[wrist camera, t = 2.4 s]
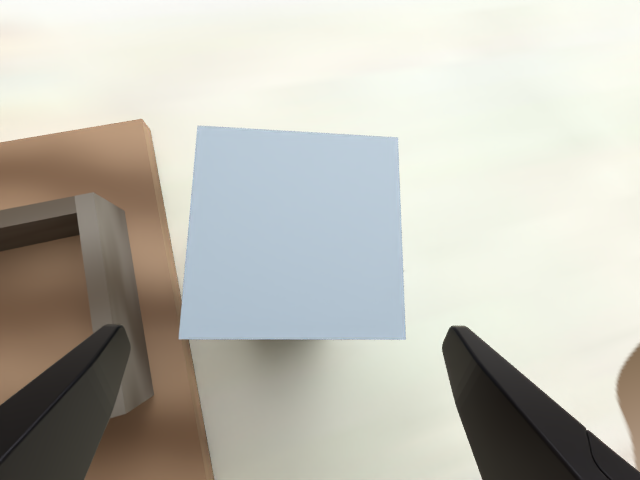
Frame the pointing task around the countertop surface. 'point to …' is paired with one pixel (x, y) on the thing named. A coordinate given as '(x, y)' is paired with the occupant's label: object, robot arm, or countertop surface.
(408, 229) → the countertop surface
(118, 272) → the jig cradle
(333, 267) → the block
